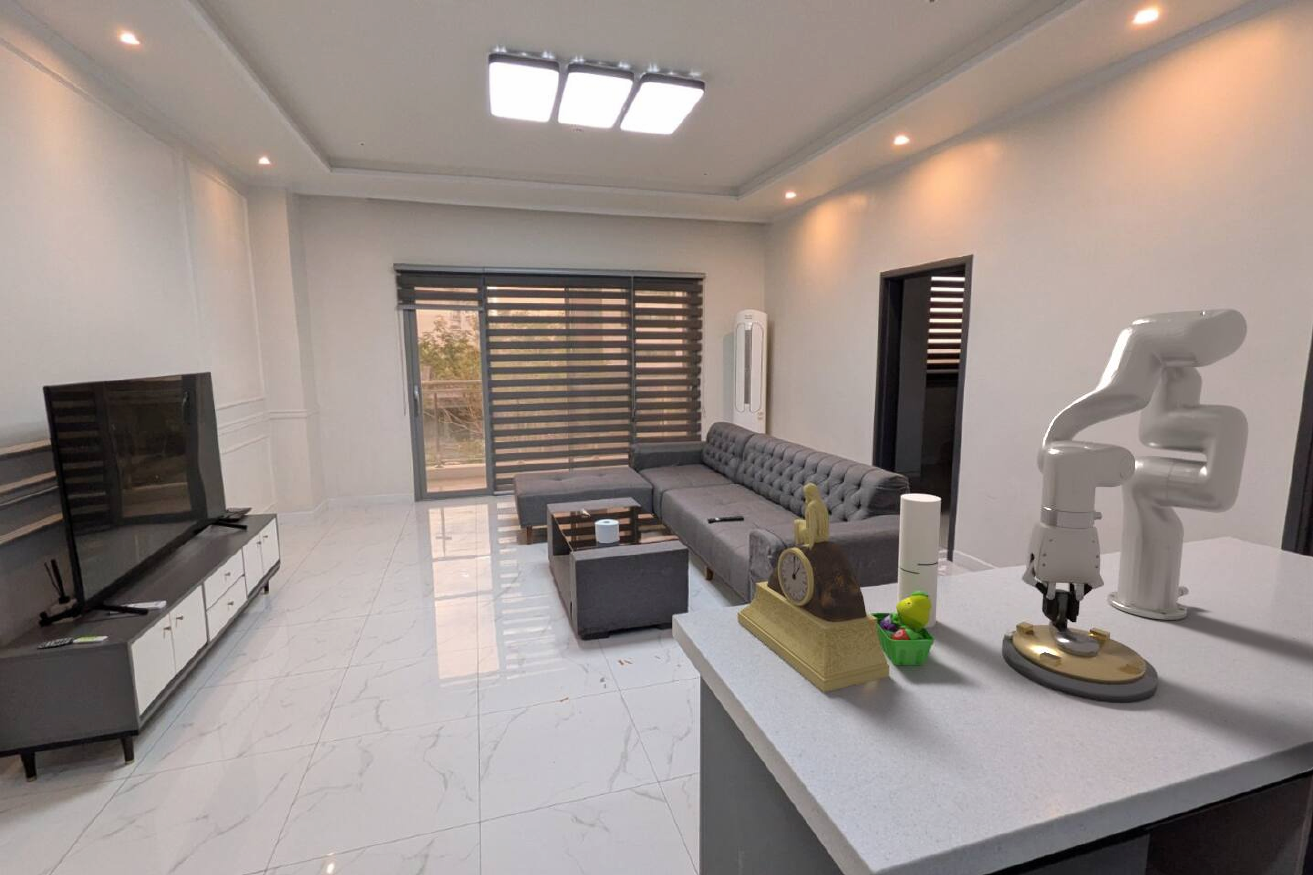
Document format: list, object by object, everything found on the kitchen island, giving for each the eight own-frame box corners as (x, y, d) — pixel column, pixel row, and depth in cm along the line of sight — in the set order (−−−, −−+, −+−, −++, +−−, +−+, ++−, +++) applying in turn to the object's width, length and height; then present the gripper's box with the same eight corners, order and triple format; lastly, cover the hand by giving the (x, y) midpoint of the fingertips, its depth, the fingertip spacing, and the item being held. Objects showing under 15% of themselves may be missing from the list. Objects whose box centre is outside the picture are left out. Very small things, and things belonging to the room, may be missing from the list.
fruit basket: (867, 638, 110) (868, 580, 108) (915, 638, 109) (917, 580, 108) (889, 669, 98) (891, 605, 97) (942, 669, 98) (945, 605, 97)
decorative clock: (737, 621, 118) (738, 475, 114) (792, 611, 122) (794, 470, 119) (823, 693, 92) (827, 505, 88) (889, 676, 96) (895, 498, 93)
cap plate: (1059, 631, 111) (1060, 618, 111) (1189, 687, 91) (1191, 671, 91) (973, 649, 104) (974, 635, 104) (1094, 714, 85) (1095, 697, 84)
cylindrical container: (939, 629, 113) (945, 502, 110) (900, 626, 114) (905, 501, 111) (930, 613, 120) (935, 494, 117) (893, 611, 121) (897, 493, 118)
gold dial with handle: (1045, 623, 110) (1048, 580, 109) (1165, 663, 95) (1170, 614, 94) (990, 647, 101) (993, 600, 100) (1113, 696, 85) (1118, 642, 84)
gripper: (1105, 513, 104) (1098, 612, 106) (1007, 511, 107) (1001, 607, 109) (1132, 524, 97) (1123, 630, 99) (1025, 522, 99) (1019, 625, 102)
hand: (1059, 617), depth 104 cm, fingers closed on gold dial with handle, 2 cm apart
